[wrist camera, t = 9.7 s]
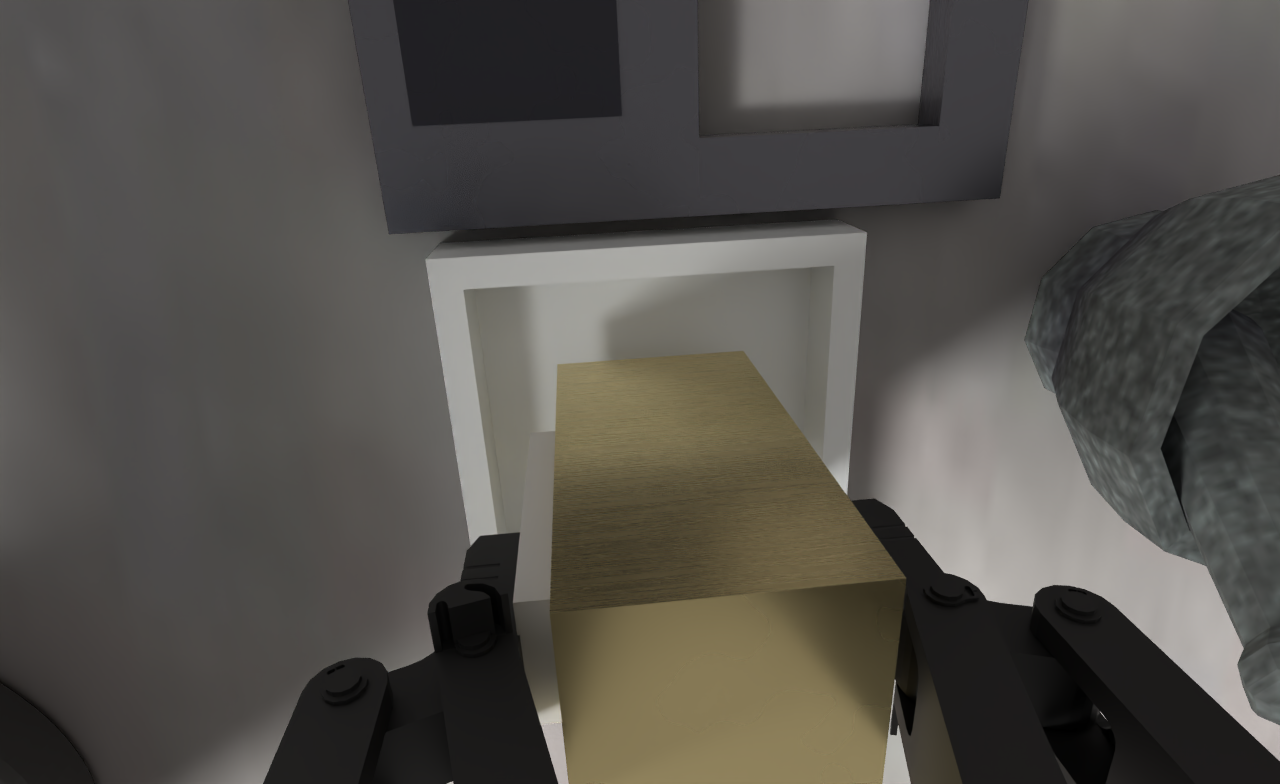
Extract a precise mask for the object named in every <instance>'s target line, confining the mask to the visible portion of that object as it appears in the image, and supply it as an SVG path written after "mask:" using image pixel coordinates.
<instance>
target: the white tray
mask: <svg viewBox="0 0 1280 784" xmlns="http://www.w3.org/2000/svg"><path fill="white" fill-rule="evenodd" d="M866 241H867V232H865V231H863V230H860V229H858V228H856V227H854V226H851V225H849V224H847V223H844V222H842V221H840V220H838V219H832V220H815V221H799V222H782V223H765V224H748V225H732V226H715V227H698V228H682V229H665V230H648V231H631V232H615V233H598V234H581V235H564V236H548V237H531V238H514V239H497V240H481V241H464V242H447V243H440V244H439V245H438V246H437V247H436V248H435V249H434V250H433V251H432V253H431V254H430V255H429V256H428V257H427V258H426V259H425V261H426V267H427V274H428V280H429V286H430V293H431V299H432V305H433V312H434V318H435V324H436V331H437V337H438V343H439V350H440V356H441V362H442V369H443V375H444V381H445V388H446V394H447V400H448V407H449V413H450V419H451V426H452V432H453V438H454V445H455V451H456V457H457V464H458V470H459V476H460V483H461V489H462V495H463V502H464V508H465V514H466V521H467V527H468V533H469V540H470V546H471V545H472V544H473V543H474V542H475V541H476V540H477V539H478V537H479V536H483V535H494V534H505V533H516V532H520V529H521V519H522V510H523V500H524V490H525V481H526V471H527V461H528V452H529V442H530V433H535V432H548V431H555V424H556V392H557V364H569V363H583V362H596V361H610V360H624V359H637V358H651V357H664V356H678V355H692V354H705V353H719V352H733V351H744V352H745V354H746V355H747V357H748V358H749V359H750V361H751V362H752V364H753V365H754V366H755V368H756V369H757V370H758V372H759V373H760V375H761V376H762V377H763V379H764V380H765V382H766V383H767V384H768V386H769V387H770V389H771V390H772V391H773V393H774V394H775V396H776V397H777V398H778V400H779V401H780V403H781V404H782V405H783V407H784V408H785V410H786V411H787V412H788V414H789V415H790V417H791V418H792V419H793V421H794V422H795V424H796V425H797V426H798V428H799V429H800V431H801V432H802V433H803V435H804V436H805V437H806V439H807V440H808V442H809V443H810V444H811V446H812V447H813V449H814V450H815V451H816V453H817V454H818V456H819V457H820V458H821V460H822V461H823V463H824V464H825V465H826V467H827V468H828V470H829V471H830V472H831V474H832V475H833V477H834V478H835V479H836V481H837V482H838V484H839V485H840V486H841V488H842V489H843V491H844V492H845V493H846V495H847V488H848V475H849V462H850V449H851V436H852V423H853V410H854V397H855V384H856V371H857V358H858V345H859V332H860V319H861V306H862V293H863V280H864V267H865V254H866Z"/></svg>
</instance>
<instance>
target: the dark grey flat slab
mask: <svg viewBox="0 0 1280 784" xmlns="http://www.w3.org/2000/svg"><path fill="white" fill-rule="evenodd" d="M348 3H349V8H350V14H351V20H352V26H353V31H354V37H355V43H356V48H357V54H358V60H359V66H360V71H361V77H362V83H363V88H364V94H365V100H366V106H367V111H368V117H369V123H370V128H371V134H372V140H373V146H374V151H375V157H376V163H377V169H378V174H379V180H380V186H381V191H382V197H383V203H384V209H385V214H386V220H387V226H388V231H389V234H399V233H416V232H433V231H450V230H467V229H484V228H502V227H519V226H536V225H553V224H570V223H587V222H604V221H621V220H638V219H655V218H672V217H689V216H706V215H723V214H740V213H758V212H775V211H792V210H809V209H826V208H843V207H860V206H877V205H894V204H911V203H928V202H945V201H962V200H979V199H996V198H1000V193H1001V186H1002V179H1003V172H1004V165H1005V158H1006V151H1007V144H1008V137H1009V131H1010V124H1011V117H1012V110H1013V103H1014V96H1015V89H1016V82H1017V75H1018V68H1019V61H1020V54H1021V47H1022V40H1023V33H1024V27H1025V20H1026V13H1027V6H1028V0H930V8H929V18H928V28H927V39H926V49H925V59H924V69H923V79H922V89H921V100H920V110H919V120H918V125H900V126H880V127H861V128H841V129H821V130H801V131H781V132H762V133H742V134H722V135H702V136H699V88H698V0H348Z"/></svg>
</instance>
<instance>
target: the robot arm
mask: <svg viewBox="0 0 1280 784" xmlns="http://www.w3.org/2000/svg"><path fill="white" fill-rule="evenodd" d="M554 456H555V431H548V432H535V433H530V442H529V452H528V461H527V471H526V481H525V490H524V500H523V510H522V519H521V529H520V532H516V533H505V534H494V535H483V536H479V537H478V539H477V540H476V541H475V542H474V543H473V544H472V545H471V547H470V548H469V549H468V550H467V553H466V558H465V562H464V570H463V571H462V576H461V582H458V583H455V584H452V585H450V586H448V587H446V588H445V589H443V590H442V591H440V592H439V593H437V594H436V596H435V597H434V598H433V600H432V601H431V602H430V603H429V608H428V619H429V624H430V629H431V634H432V640H433V645H434V650H435V651H434V652H433V653H432V654H431V655H429V656H427V657H426V658H424V659H422V660H421V661H418V662H416V663H414V664H411V665H409V666H406V667H403V668H400V669H397V670H394V671H391V672H387V670H386V669H385V667H384V666H383V665H382V663H380V662H378V661H376V660H373V659H371V658H352V659H348V660H344V661H339V662H337V663H335V664H333V665H331V666H329V667H327V668H325V669H323V670H322V671H321V672H319V673H318V674H317V675H316V676H315V677H313V678H312V679H311V680H310V681H309V683H308V684H307V686H306V687H305V689H304V690H303V691H302V693H301V696H300V698H299V700H298V703H297V705H296V707H295V710H294V712H293V715H292V717H291V719H290V722H289V724H288V726H287V729H286V731H285V733H284V736H283V738H282V740H281V743H280V745H279V747H278V750H277V752H276V754H275V757H274V759H273V761H272V764H271V766H270V769H269V771H268V773H267V776H266V778H265V780H264V783H263V784H447V783H449V782H452V781H453V783H454V784H558V781H557V778H556V774H555V771H554V768H553V764H552V761H551V758H550V754H549V751H548V747H547V744H546V741H545V737H544V734H543V731H542V727H541V725H544V724H553V723H562V719H561V710H560V701H559V692H558V683H557V674H556V666H555V657H554V648H553V639H552V630H551V621H550V586H551V553H552V521H553V489H554ZM851 502H852V503H853V504H854V506H855V507H856V509H857V510H858V511H859V513H860V514H861V516H862V517H863V518H864V520H865V521H866V523H867V524H868V525H869V527H870V528H871V530H872V531H873V532H874V534H875V535H876V537H877V538H878V539H879V541H880V542H881V544H882V545H883V546H884V548H885V549H886V551H887V552H888V553H889V555H890V556H891V558H892V559H893V560H894V562H895V563H896V565H897V566H898V567H899V569H900V570H901V572H902V573H903V574H904V576H905V577H906V587H905V595H904V603H903V612H902V620H901V629H900V637H899V646H898V654H897V663H896V671H895V680H896V685H895V694H894V702H893V710H892V718H891V729H890V735H897V727H898V725H899V729H900V734H901V738H902V743H903V748H904V752H905V757H906V762H907V767H908V771H909V776H910V781H911V784H1280V761H1279V760H1278V759H1276V758H1275V757H1274V756H1273V755H1272V754H1271V753H1270V752H1269V751H1268V750H1267V749H1266V748H1265V747H1264V746H1263V745H1262V744H1261V743H1259V742H1258V741H1257V740H1256V739H1255V738H1254V737H1253V736H1252V735H1251V734H1250V733H1249V732H1248V731H1247V730H1246V729H1245V728H1244V727H1242V726H1241V725H1240V724H1239V723H1238V722H1237V721H1236V720H1235V719H1234V718H1233V717H1232V716H1231V715H1230V714H1229V713H1228V712H1227V711H1225V710H1224V709H1223V708H1222V707H1221V706H1220V705H1219V704H1218V703H1217V702H1216V701H1215V700H1214V699H1213V698H1212V697H1211V696H1210V695H1208V694H1207V693H1206V692H1205V691H1204V690H1203V689H1202V688H1201V687H1200V686H1199V685H1198V684H1197V683H1196V682H1195V681H1194V680H1193V679H1191V678H1190V677H1189V676H1188V675H1187V674H1186V673H1185V672H1184V671H1183V670H1182V669H1181V668H1180V667H1179V666H1178V665H1177V664H1175V663H1174V662H1173V661H1172V660H1171V659H1170V658H1169V657H1168V656H1167V655H1166V654H1165V653H1164V652H1163V651H1162V650H1161V649H1160V648H1158V647H1157V646H1156V645H1155V644H1154V643H1153V642H1152V641H1151V640H1150V639H1149V638H1148V637H1147V636H1146V635H1145V634H1144V633H1143V632H1141V631H1140V630H1139V629H1138V628H1137V627H1136V626H1135V625H1134V624H1133V623H1132V622H1131V621H1130V620H1129V619H1128V618H1127V617H1126V616H1124V615H1123V614H1122V613H1121V612H1120V611H1119V610H1118V609H1117V608H1116V607H1115V606H1114V605H1112V604H1111V603H1110V602H1108V601H1107V600H1105V599H1104V598H1103V597H1101V596H1099V595H1096V594H1094V593H1092V592H1090V591H1087V590H1085V589H1081V588H1076V587H1072V586H1061V585H1053V586H1049V587H1045V588H1042V589H1041V590H1039V591H1038V592H1037V593H1036V594H1035V598H1034V603H1033V607H1030V606H1022V605H1013V604H1005V603H998V602H993V601H987V600H986V598H985V596H984V595H983V593H982V592H981V591H980V589H979V588H978V587H976V586H975V585H973V584H972V583H970V582H969V581H968V580H965V579H963V578H960V577H958V576H955V575H952V574H946V573H944V572H943V571H942V570H941V569H940V567H939V566H938V565H937V564H936V562H935V561H934V560H933V559H932V557H931V556H930V555H929V554H928V552H927V551H926V550H925V549H924V547H923V546H922V545H921V544H920V542H919V541H918V540H917V539H916V538H914V535H913V534H912V532H911V531H910V530H909V529H908V527H905V524H904V522H903V521H902V520H901V519H900V517H899V516H898V515H897V514H896V512H895V511H894V510H893V509H891V508H889V507H888V506H886V505H884V504H883V503H881V502H879V501H878V500H876V499H866V500H854V501H851ZM1100 711H1101V713H1102V714H1103V715H1104V716H1105V718H1106V719H1107V720H1106V719H1105V718H1104V717H1103V715H1102V714H1101V713H1100ZM0 784H94V782H93V779H92V777H91V775H90V773H89V771H88V769H87V767H86V765H85V763H84V762H83V760H82V759H81V757H80V756H79V754H78V753H77V751H76V750H75V749H74V747H73V746H72V745H71V743H70V742H69V741H68V740H67V738H66V737H65V736H64V735H63V734H62V733H61V732H60V731H59V729H58V728H57V727H56V726H55V725H53V724H52V723H51V722H50V721H49V720H48V719H47V718H46V717H45V716H44V715H43V714H42V713H40V712H39V711H38V710H37V709H36V708H35V707H33V706H32V705H31V704H29V703H28V702H27V701H26V700H24V699H23V698H22V697H20V696H19V695H17V694H16V693H14V692H13V691H11V690H10V689H8V688H7V687H5V686H4V685H2V684H1V683H0Z"/></svg>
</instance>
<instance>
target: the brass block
mask: <svg viewBox="0 0 1280 784" xmlns="http://www.w3.org/2000/svg"><path fill="white" fill-rule="evenodd" d="M905 587H906V577H905V576H904V574H903V573H902V572H901V570H900V569H899V567H898V566H897V565H896V563H895V562H894V560H893V559H892V558H891V556H890V555H889V553H888V552H887V551H886V549H885V548H884V546H883V545H882V544H881V542H880V541H879V539H878V538H877V537H876V535H875V534H874V532H873V531H872V530H871V528H870V527H869V525H868V524H867V523H866V521H865V520H864V518H863V517H862V516H861V514H860V513H859V511H858V510H857V509H856V507H855V506H854V504H853V503H852V502H851V500H850V499H849V498H848V496H847V495H846V493H845V492H844V491H843V489H842V488H841V486H840V485H839V484H838V482H837V481H836V479H835V478H834V477H833V475H832V474H831V472H830V471H829V470H828V468H827V467H826V465H825V464H824V463H823V461H822V460H821V458H820V457H819V456H818V454H817V453H816V451H815V450H814V449H813V447H812V446H811V444H810V443H809V442H808V440H807V439H806V437H805V436H804V435H803V433H802V432H801V431H800V429H799V428H798V426H797V425H796V424H795V422H794V421H793V419H792V418H791V417H790V415H789V414H788V412H787V411H786V410H785V408H784V407H783V405H782V404H781V403H780V401H779V400H778V398H777V397H776V396H775V394H774V393H773V391H772V390H771V389H770V387H769V386H768V384H767V383H766V382H765V380H764V379H763V377H762V376H761V375H760V373H759V372H758V370H757V369H756V368H755V366H754V365H753V364H752V362H751V361H750V359H749V358H748V357H747V355H746V354H745V352H744V351H733V352H719V353H705V354H692V355H678V356H664V357H651V358H637V359H624V360H610V361H596V362H583V363H569V364H557V392H556V424H555V456H554V489H553V521H552V553H551V586H550V621H551V630H552V639H553V648H554V657H555V666H556V674H557V683H558V692H559V701H560V710H561V719H562V728H563V736H564V745H565V754H566V763H567V772H568V781H569V784H882V781H883V772H884V764H885V755H886V747H887V739H888V730H889V722H890V713H891V705H892V696H893V688H894V679H895V671H896V663H897V654H898V646H899V637H900V629H901V620H902V612H903V603H904V595H905Z"/></svg>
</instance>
